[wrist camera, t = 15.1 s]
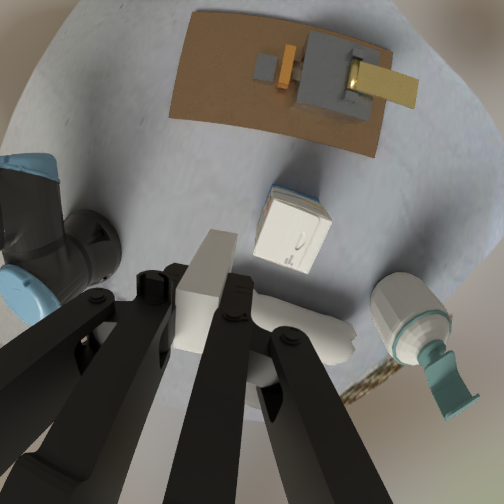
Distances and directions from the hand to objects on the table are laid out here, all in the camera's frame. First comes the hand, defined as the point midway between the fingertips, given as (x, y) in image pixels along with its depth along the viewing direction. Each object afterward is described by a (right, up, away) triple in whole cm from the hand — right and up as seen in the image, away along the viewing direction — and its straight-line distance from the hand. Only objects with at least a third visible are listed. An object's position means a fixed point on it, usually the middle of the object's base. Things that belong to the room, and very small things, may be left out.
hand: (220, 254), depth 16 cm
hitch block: (+7, +28, +23) cm, 37 cm away
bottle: (+7, -11, +39) cm, 41 cm away
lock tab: (+19, +22, +13) cm, 32 cm away
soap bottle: (+30, -8, +37) cm, 48 cm away
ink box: (+8, +6, +32) cm, 34 cm away
